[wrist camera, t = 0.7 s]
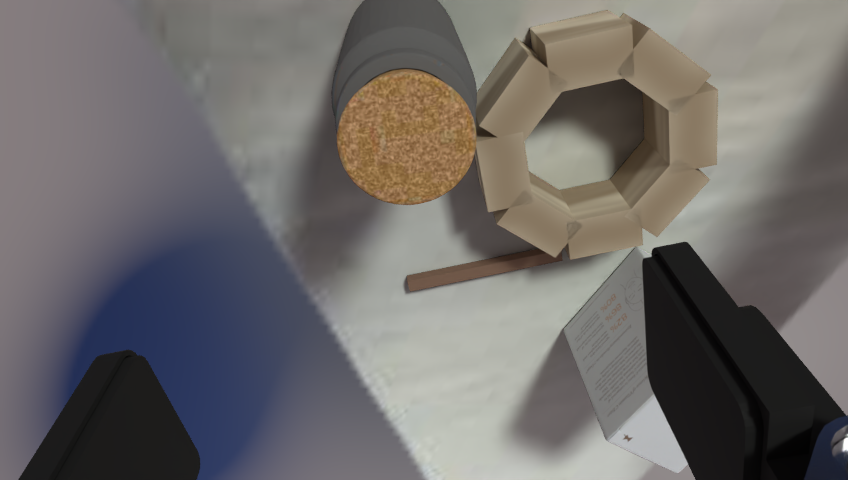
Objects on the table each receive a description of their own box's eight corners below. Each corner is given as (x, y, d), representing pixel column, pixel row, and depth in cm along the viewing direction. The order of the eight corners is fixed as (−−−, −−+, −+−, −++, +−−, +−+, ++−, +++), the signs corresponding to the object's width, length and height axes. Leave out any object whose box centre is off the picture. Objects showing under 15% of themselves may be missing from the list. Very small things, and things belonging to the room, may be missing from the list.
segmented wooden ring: (685, -8, 34) (719, 5, 30) (687, 199, 40) (715, 230, 36) (453, 44, 35) (460, 63, 31) (490, 240, 41) (499, 274, 37)
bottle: (442, 104, 36) (470, 232, 23) (339, 84, 35) (308, 205, 22) (466, -3, 33) (514, 74, 20) (355, -27, 33) (331, 37, 20)
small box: (620, 359, 46) (676, 478, 37) (560, 328, 45) (603, 444, 35) (698, 279, 43) (781, 388, 34) (636, 242, 41) (706, 346, 32)
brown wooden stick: (558, 244, 41) (561, 250, 41) (560, 254, 42) (562, 260, 41) (407, 275, 42) (407, 281, 41) (409, 285, 42) (410, 291, 42)
